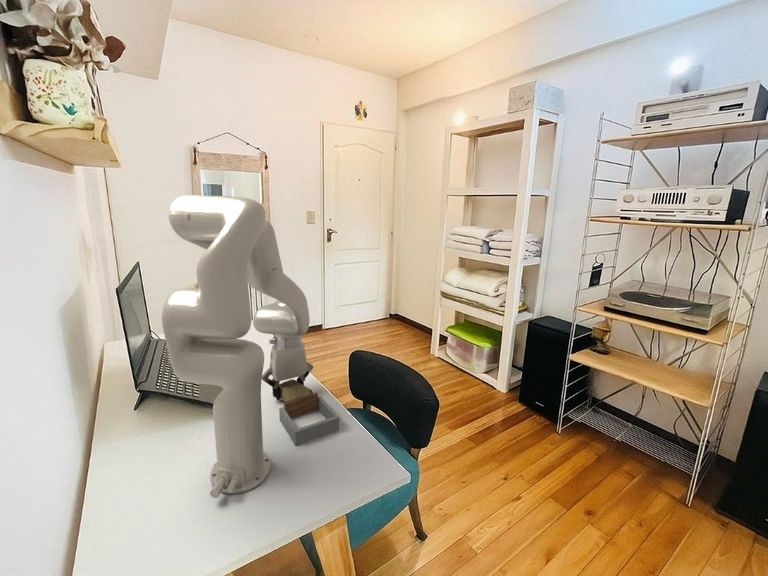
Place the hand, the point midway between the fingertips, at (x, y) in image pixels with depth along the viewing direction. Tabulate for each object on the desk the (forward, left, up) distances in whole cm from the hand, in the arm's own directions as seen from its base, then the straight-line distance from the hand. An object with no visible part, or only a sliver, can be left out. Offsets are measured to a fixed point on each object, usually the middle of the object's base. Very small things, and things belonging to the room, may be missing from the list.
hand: (288, 394), depth 109 cm
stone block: (-2, -3, -1) cm, 4 cm away
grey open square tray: (-12, -9, -1) cm, 15 cm away
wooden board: (-7, -6, -1) cm, 10 cm away
